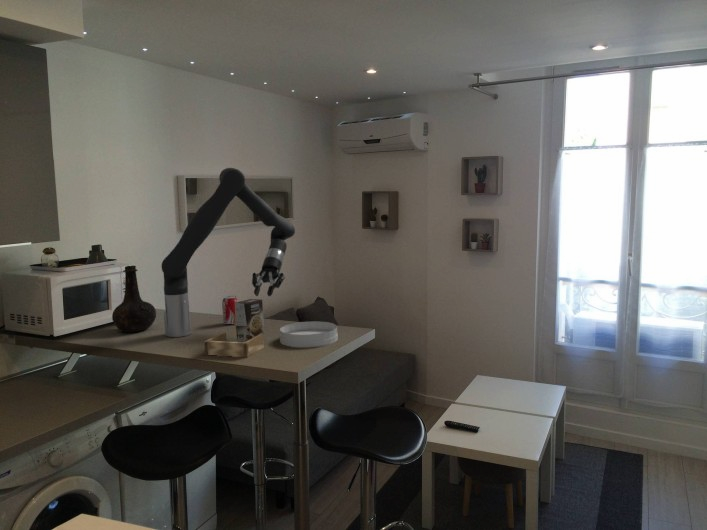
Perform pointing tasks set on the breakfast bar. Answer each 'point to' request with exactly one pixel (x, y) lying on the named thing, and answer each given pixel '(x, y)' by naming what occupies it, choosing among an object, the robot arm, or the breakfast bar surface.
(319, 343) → the dish
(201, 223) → the robot arm
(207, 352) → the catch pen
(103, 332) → the breakfast bar surface
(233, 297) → the soda can
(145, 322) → the glass bottle
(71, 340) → the breakfast bar surface
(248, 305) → the coffee box
